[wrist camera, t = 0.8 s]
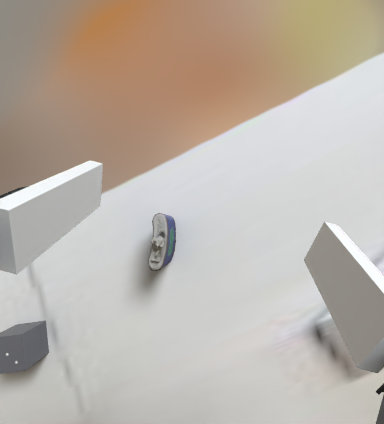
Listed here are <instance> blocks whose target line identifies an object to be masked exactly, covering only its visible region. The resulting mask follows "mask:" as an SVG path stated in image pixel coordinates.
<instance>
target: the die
mask: <svg viewBox="0 0 384 424" xmlns="http://www.w3.org/2000/svg"><path fill="white" fill-rule="evenodd" d="M48 353H49V349H48V339H47V328H46V321H40V322H33V323H25V324H18V325H15V326H13V327H11V328H9V329H7V330H5V331H3V332H1V333H0V374H3V373H11V372H19V371H26V370H27V369H28V368H30V367H31V366H32V365H34V364H35V363H36V362H37V361H39V360H40V359H41V358H42V357H44V356H45V355H46V354H48Z"/></svg>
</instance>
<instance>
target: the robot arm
mask: <svg viewBox="0 0 384 424" xmlns="http://www.w3.org/2000/svg"><path fill="white" fill-rule="evenodd" d="M102 168H103V164H101V163H98V162H94V161H88V162H85V163H83V164H81V165H79V166H76V167H74V168H71V169H69V170H67V171H64V172H62V173H60V174H57V175H55V176H53V177H50V178H48V179H45V180H43V181H41V182H38V183H36V184H34V185H31V186H28V187H22V188H18V189H15V190H13V191H10V192H8V194H7V193H6V194H3V195H1V196H0V270H2V271H6V272H10V273H13V274H18V273H19V272H20V271H22V270H23V269H24V268H25V267H26V266H28V265H29V264H30V263H31V262H32V261H34V260H35V259H36V258H37V257H39V256H40V255H41V254H42V253H43V252H45V251H46V250H47V249H48V248H50V247H51V246H52V245H53V244H54V243H56V242H57V241H58V240H59V239H60V238H62V237H63V236H64V235H65V234H67V233H68V232H69V231H70V230H71V229H73V228H74V227H75V226H76V225H78V224H79V223H80V222H81V221H82V220H84V219H85V218H86V217H87V216H89V215H90V214H91V213H92V212H93V211H95V210H96V209H97V208H98V207H99V206H100V201H101V184H102ZM304 261H305V263H306V265H307V267H308V269H309V271H310V273H311V275H312V277H313V279H314V281H315V284H316V286H317V288H318V290H319V292H320V294H321V296H322V298H323V300H324V302H325V304H326V306H327V308H328V310H329V312H330V314H331V316H332V318H333V320H334V322H335V324H336V326H337V328H338V330H339V332H340V334H341V336H342V338H343V340H344V342H345V344H346V346H347V348H348V350H349V352H350V354H351V356H352V358H353V360H354V362H355V364H356V366H357V368H360V369H364V370H368V371H371V372H375V373H378V372H379V371H380V370H381V369H382V368H383V367H384V276H383V274H382V273H381V272H380V271H379V270H378V269H377V268H376V267H375V266H374V265H373V263H372V262H371V261H370V260H369V259H368V258H367V257H366V256H365V255H364V254H363V252H362V251H361V250H360V249H359V248H358V247H357V246H356V245H355V244H354V243H353V241H352V240H351V239H350V238H349V237H348V236H347V235H346V234H345V233H344V232H343V230H342V229H341V228H340V227H339V226H338V225H335V224H331V223H327V222H324V224H323V225H322V227H321V229H320V231H319V233H318V235H317V237H316V238H315V240H314V242H313V244H312V246H311V248H310V249H309V251H308V253H307V255H306V257H305V259H304ZM381 392H384V384H383V385H382V386H381V387H380V388H379V389H378V390H377V391H376V393H378V394H380V393H381ZM376 424H384V396H383V399H382V403H381V407H380V410H379V414H378V418H377V421H376Z"/></svg>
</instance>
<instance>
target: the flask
mask: <svg viewBox="0 0 384 424" xmlns="http://www.w3.org/2000/svg"><path fill="white" fill-rule="evenodd" d="M152 222H153V238H152V241H151V243H153V244H152V250H151V254H150V257H149V261H148V264H149V267H150V269H151V270H152V271H157V270H160V269H161V268H162V267H164V266H165V265H167V264H168V263H169V262H170V261H171V260H172V258H173V254H174V251H175V243H176V239H175V238H176V232H175V230H176V228H175V221H174V219H173V217H171V216H168V215H165V214H161V213H158V214H156V215H155V216H154V218H153V221H152Z"/></svg>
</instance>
